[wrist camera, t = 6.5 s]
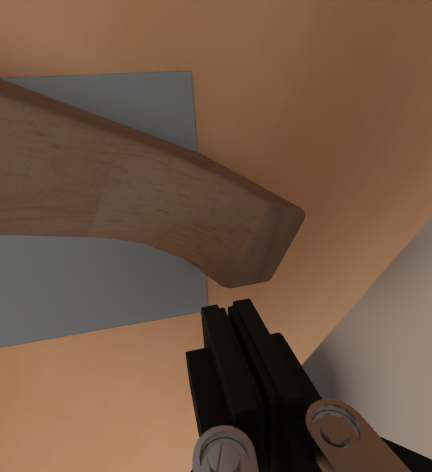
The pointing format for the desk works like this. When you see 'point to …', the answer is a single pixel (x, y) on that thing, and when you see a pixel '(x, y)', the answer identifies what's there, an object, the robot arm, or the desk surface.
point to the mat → (101, 249)
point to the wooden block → (133, 191)
